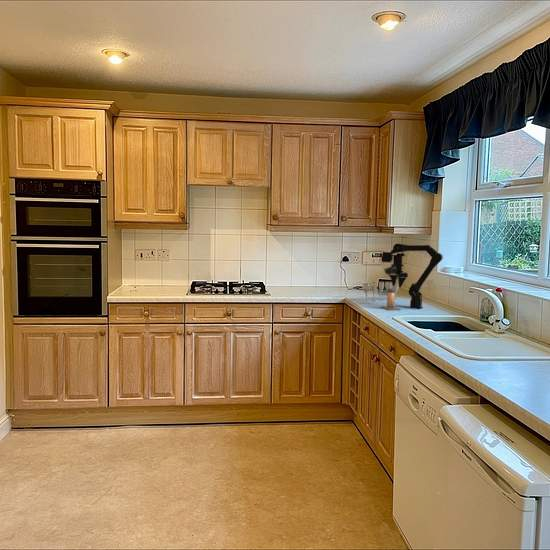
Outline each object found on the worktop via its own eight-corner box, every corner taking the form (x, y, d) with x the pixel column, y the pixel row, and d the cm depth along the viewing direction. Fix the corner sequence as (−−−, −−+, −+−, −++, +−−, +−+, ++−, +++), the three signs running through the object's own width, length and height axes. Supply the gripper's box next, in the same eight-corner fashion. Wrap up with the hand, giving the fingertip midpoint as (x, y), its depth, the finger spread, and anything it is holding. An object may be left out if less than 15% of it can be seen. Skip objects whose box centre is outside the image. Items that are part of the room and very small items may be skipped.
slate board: (391, 306, 340) (392, 305, 340) (400, 310, 329) (400, 308, 329) (380, 307, 339) (380, 306, 338) (388, 310, 327) (388, 309, 327)
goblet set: (396, 299, 373) (397, 281, 371) (400, 300, 367) (401, 282, 366) (360, 300, 365) (361, 281, 363) (364, 302, 359) (364, 282, 358)
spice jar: (395, 307, 334) (396, 288, 333) (392, 308, 330) (393, 289, 329) (388, 306, 337) (389, 288, 336) (385, 307, 333) (386, 288, 332)
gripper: (380, 261, 347) (379, 284, 349) (392, 264, 329) (391, 288, 331) (395, 261, 350) (394, 284, 351) (408, 264, 332) (407, 288, 333)
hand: (396, 286), depth 342 cm, fingers open, 9 cm apart
